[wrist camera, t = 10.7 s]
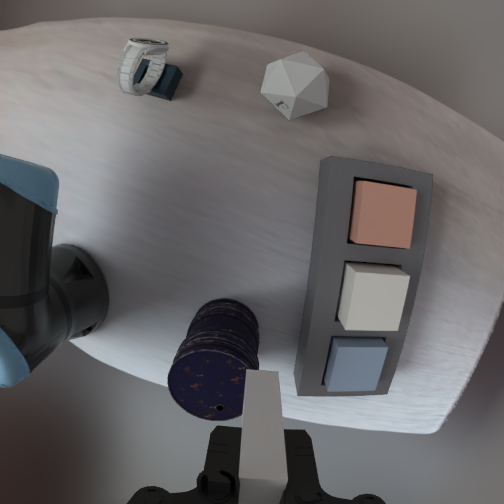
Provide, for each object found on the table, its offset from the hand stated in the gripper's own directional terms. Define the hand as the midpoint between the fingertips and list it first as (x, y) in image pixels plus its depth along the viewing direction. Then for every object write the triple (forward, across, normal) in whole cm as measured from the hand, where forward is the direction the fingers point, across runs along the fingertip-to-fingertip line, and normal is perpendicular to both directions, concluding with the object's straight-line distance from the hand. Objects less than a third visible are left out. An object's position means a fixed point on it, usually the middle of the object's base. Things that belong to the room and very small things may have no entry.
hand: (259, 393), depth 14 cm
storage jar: (+30, -4, -11) cm, 32 cm away
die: (+30, +3, +23) cm, 38 cm away
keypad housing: (+29, +14, -2) cm, 33 cm away
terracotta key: (+26, +14, +8) cm, 31 cm away
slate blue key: (+26, +14, -12) cm, 32 cm away
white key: (+25, +14, -2) cm, 29 cm away
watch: (+30, -16, +24) cm, 41 cm away
